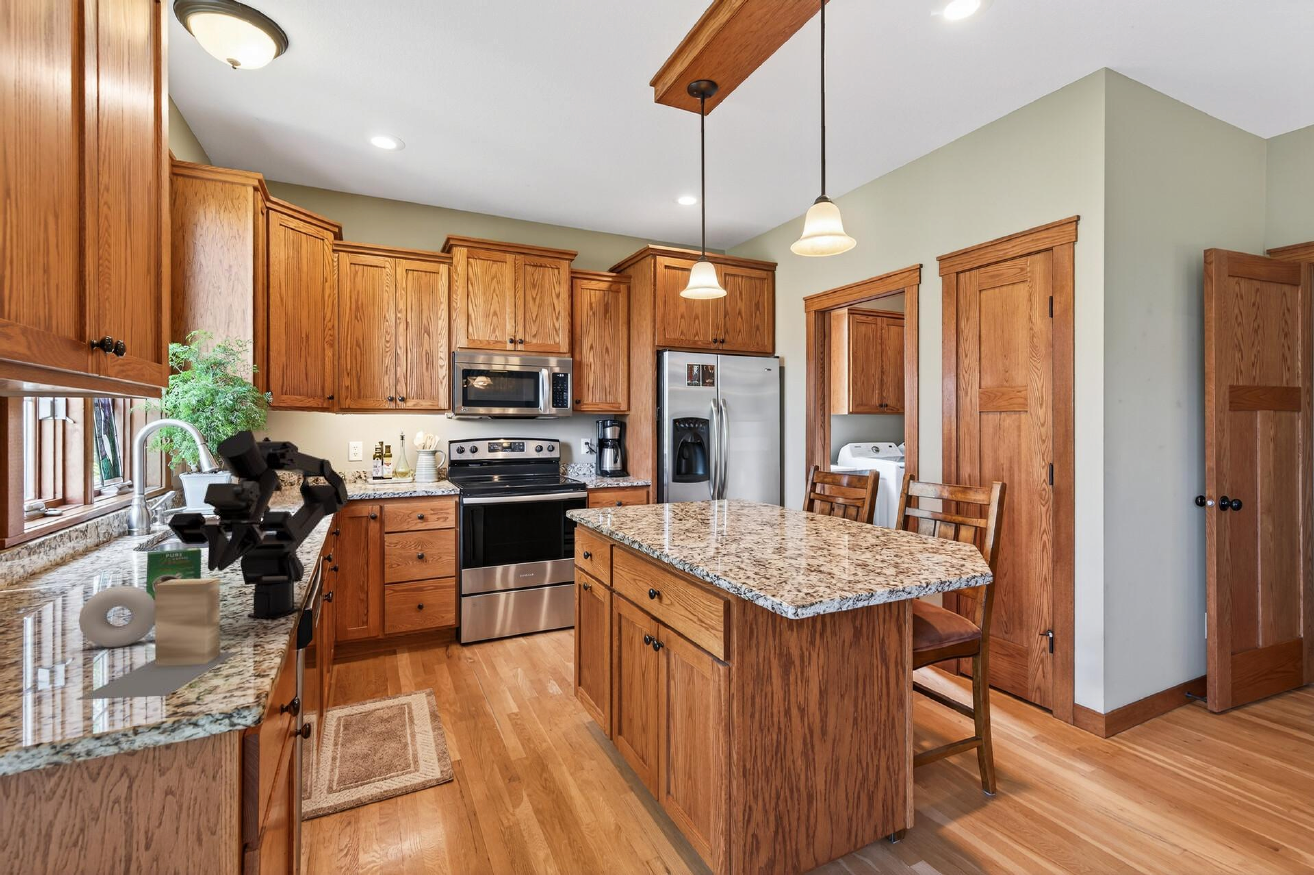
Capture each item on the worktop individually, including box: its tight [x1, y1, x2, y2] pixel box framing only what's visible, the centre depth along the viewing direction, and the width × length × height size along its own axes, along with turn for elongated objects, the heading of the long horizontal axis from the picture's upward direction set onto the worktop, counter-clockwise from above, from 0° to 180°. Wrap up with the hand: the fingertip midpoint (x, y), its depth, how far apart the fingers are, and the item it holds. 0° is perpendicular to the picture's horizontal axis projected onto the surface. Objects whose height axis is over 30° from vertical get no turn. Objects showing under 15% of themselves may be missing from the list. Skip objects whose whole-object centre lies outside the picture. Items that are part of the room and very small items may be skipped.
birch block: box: [154, 577, 221, 666], centre depth 92 cm, size 4×7×12 cm, turn 96°
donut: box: [78, 584, 155, 648], centre depth 99 cm, size 10×3×10 cm, turn 114°
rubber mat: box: [76, 651, 239, 701], centre depth 87 cm, size 16×11×1 cm
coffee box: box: [145, 547, 202, 601], centre depth 114 cm, size 8×3×13 cm, turn 133°
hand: (214, 569), depth 99 cm, fingers closed
